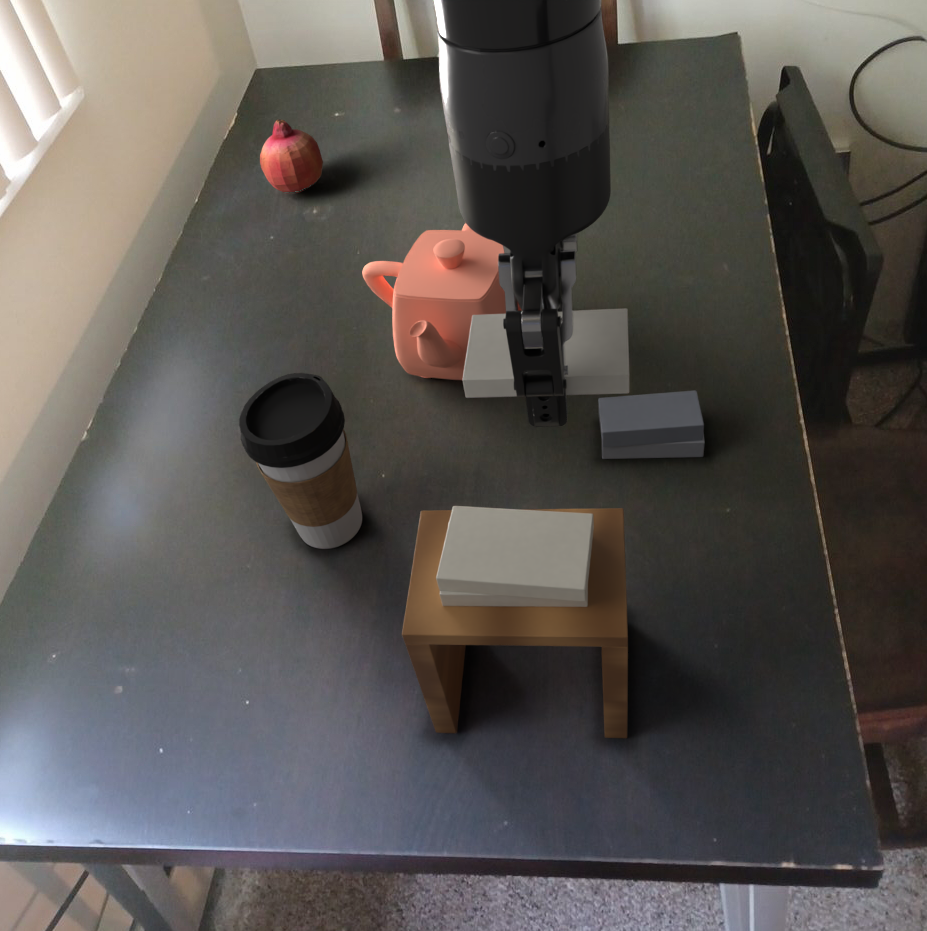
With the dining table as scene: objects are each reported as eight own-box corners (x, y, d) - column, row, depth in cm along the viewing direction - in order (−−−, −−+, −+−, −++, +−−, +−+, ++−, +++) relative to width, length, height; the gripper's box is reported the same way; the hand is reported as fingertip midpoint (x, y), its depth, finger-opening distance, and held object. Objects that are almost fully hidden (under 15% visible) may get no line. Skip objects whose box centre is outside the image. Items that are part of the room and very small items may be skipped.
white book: (627, 326, 54) (627, 307, 53) (629, 393, 50) (629, 374, 49) (475, 332, 55) (472, 314, 54) (465, 398, 52) (462, 379, 51)
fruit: (262, 207, 120) (238, 137, 112) (282, 174, 125) (261, 105, 117) (318, 207, 118) (298, 136, 110) (337, 174, 123) (319, 104, 115)
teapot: (487, 286, 102) (472, 182, 92) (572, 357, 92) (566, 249, 83) (359, 352, 97) (329, 250, 88) (434, 433, 88) (411, 328, 78)
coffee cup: (395, 512, 82) (359, 393, 71) (330, 576, 78) (281, 461, 67) (331, 474, 86) (287, 356, 75) (266, 533, 82) (210, 418, 71)
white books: (594, 529, 60) (593, 503, 58) (594, 614, 56) (593, 589, 54) (451, 531, 62) (445, 505, 60) (441, 613, 57) (434, 589, 55)
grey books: (699, 420, 84) (701, 389, 81) (703, 460, 81) (706, 429, 78) (599, 423, 86) (598, 393, 83) (599, 462, 82) (598, 432, 79)
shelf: (623, 618, 71) (623, 507, 61) (627, 738, 65) (627, 637, 54) (449, 617, 74) (420, 510, 63) (435, 733, 67) (401, 634, 57)
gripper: (609, 196, 36) (615, 473, 49) (608, 41, 46) (613, 306, 58) (427, 208, 38) (477, 475, 50) (463, 55, 47) (497, 311, 59)
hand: (550, 383), depth 54 cm, fingers closed on white book, 5 cm apart
